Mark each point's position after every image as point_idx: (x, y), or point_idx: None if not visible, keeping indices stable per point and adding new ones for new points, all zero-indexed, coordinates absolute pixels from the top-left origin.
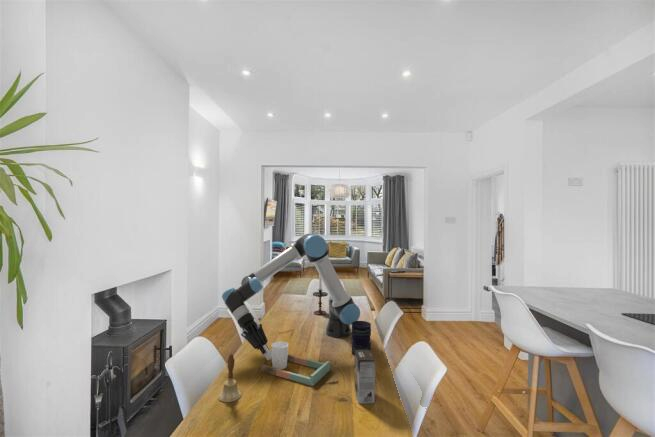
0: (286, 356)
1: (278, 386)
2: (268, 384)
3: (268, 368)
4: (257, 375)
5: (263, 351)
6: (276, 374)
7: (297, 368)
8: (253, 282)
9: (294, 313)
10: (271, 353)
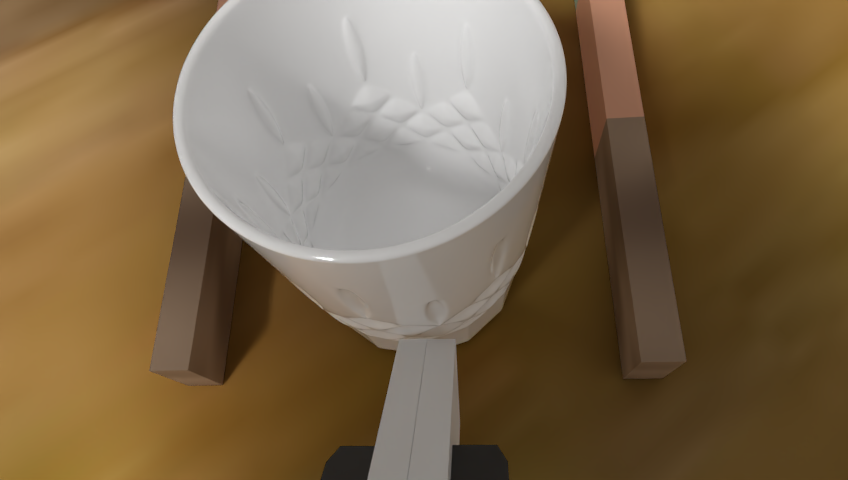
0: (398, 76)
1: (780, 16)
2: (829, 110)
3: (661, 237)
4: (778, 352)
5: (508, 477)
6: None
7: None
8: None
9: None
10: (512, 251)
